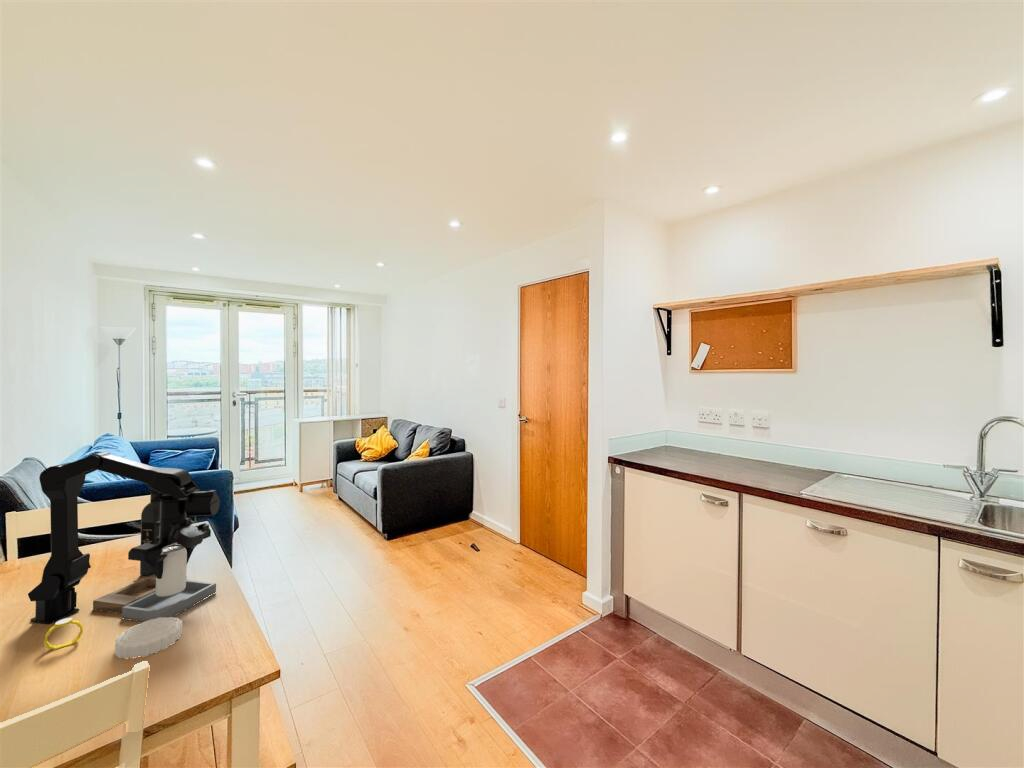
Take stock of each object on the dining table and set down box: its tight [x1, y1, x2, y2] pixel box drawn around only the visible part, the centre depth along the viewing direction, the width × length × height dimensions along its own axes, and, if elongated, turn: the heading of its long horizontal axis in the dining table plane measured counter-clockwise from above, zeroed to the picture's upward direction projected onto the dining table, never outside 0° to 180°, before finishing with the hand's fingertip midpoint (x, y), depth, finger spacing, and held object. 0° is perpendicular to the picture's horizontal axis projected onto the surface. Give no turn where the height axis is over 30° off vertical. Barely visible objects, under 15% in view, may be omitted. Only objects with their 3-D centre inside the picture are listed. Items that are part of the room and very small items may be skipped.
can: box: [156, 544, 188, 597], centre depth 114 cm, size 6×6×12 cm
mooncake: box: [114, 616, 183, 660], centre depth 98 cm, size 12×12×4 cm
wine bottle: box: [139, 488, 160, 577], centre depth 134 cm, size 6×6×30 cm
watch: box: [43, 617, 84, 651], centre depth 96 cm, size 6×3×6 cm, turn 137°
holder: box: [92, 574, 156, 614], centre depth 119 cm, size 17×11×2 cm, turn 170°
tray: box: [121, 579, 217, 623], centre depth 114 cm, size 16×12×3 cm
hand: (171, 573), depth 114 cm, fingers closed on can, 6 cm apart
